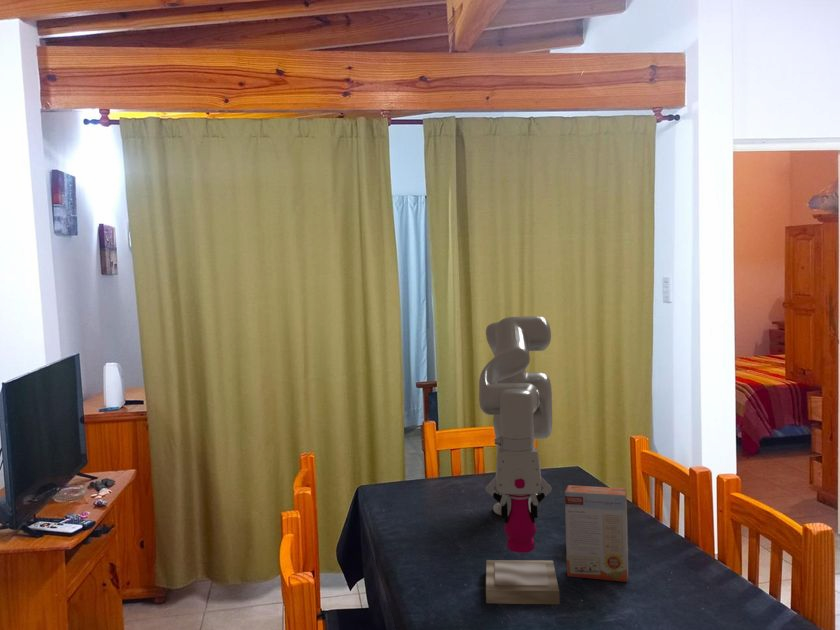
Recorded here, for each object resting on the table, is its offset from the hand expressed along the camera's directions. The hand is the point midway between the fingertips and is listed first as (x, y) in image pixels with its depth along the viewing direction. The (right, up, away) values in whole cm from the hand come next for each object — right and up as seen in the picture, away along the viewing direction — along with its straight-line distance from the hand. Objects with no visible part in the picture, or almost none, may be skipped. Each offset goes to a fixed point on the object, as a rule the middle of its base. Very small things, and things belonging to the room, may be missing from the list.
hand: (519, 520), depth 164 cm
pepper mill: (0, -7, +1) cm, 7 cm away
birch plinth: (+1, -16, +1) cm, 16 cm away
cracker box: (+20, -15, +6) cm, 26 cm away
